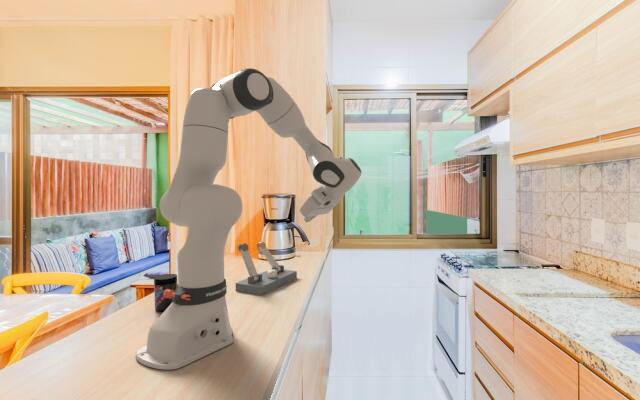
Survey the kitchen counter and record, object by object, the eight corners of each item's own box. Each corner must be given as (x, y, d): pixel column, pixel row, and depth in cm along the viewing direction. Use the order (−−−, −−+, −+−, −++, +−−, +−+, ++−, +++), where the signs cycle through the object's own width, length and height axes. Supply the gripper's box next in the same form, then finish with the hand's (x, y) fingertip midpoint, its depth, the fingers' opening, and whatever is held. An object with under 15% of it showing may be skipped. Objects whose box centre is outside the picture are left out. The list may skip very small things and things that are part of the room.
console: (261, 295, 113) (261, 280, 113) (235, 291, 118) (235, 276, 118) (296, 278, 134) (296, 265, 134) (273, 275, 140) (273, 262, 140)
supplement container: (158, 306, 104) (157, 274, 104) (180, 304, 106) (179, 273, 105) (151, 313, 98) (150, 280, 97) (175, 311, 99) (174, 278, 99)
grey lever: (256, 281, 117) (241, 243, 119) (250, 283, 118) (236, 246, 121) (261, 278, 120) (247, 241, 122) (255, 281, 121) (241, 244, 123)
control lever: (279, 270, 130) (259, 241, 134) (274, 274, 131) (254, 245, 136) (283, 268, 133) (263, 240, 137) (279, 272, 134) (259, 244, 138)
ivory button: (273, 278, 122) (273, 272, 122) (265, 277, 124) (265, 271, 124) (278, 276, 125) (278, 270, 125) (271, 275, 127) (271, 269, 127)
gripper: (334, 189, 131) (314, 213, 135) (311, 190, 112) (288, 217, 117) (344, 200, 129) (323, 223, 134) (322, 202, 111) (298, 229, 115)
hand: (306, 220), depth 125 cm, fingers closed
